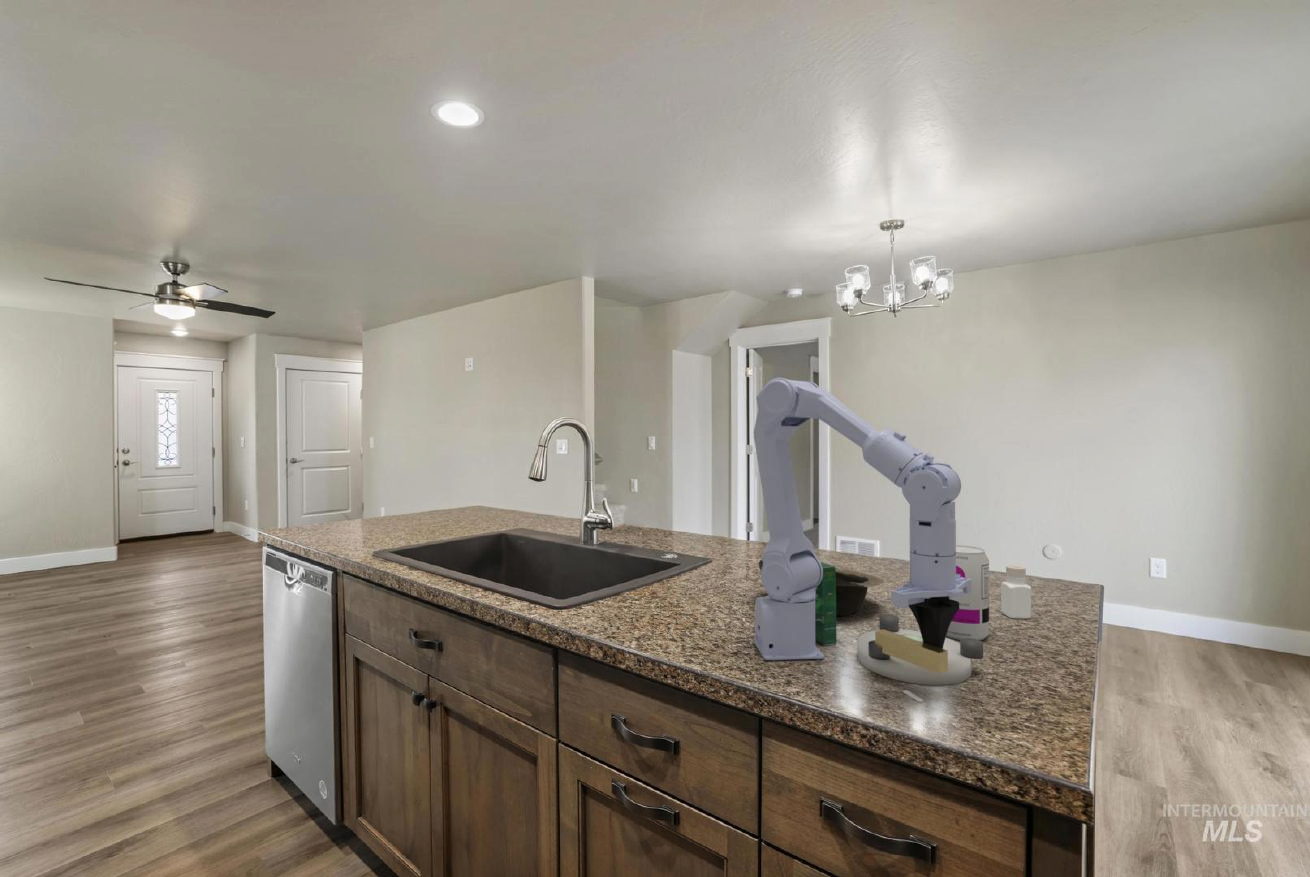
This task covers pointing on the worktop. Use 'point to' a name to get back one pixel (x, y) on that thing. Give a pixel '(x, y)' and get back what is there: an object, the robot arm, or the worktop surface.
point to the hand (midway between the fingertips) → (932, 651)
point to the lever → (908, 651)
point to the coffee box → (826, 607)
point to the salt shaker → (1016, 593)
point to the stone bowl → (850, 589)
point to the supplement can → (971, 595)
